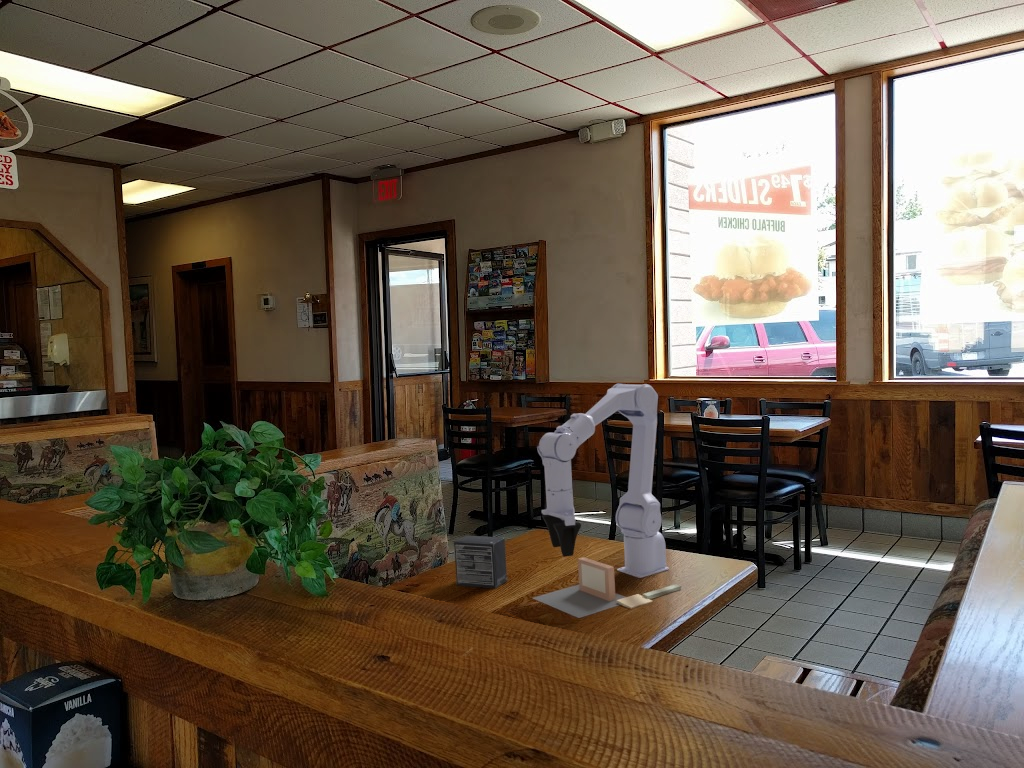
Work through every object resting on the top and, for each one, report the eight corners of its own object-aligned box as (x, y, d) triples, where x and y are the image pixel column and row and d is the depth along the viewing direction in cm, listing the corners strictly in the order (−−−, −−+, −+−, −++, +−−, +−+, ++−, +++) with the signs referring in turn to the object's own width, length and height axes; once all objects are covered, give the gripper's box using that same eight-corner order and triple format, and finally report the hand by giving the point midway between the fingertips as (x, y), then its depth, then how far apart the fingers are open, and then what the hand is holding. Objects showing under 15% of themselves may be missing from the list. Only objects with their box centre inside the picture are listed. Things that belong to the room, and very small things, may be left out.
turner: (671, 586, 171) (671, 581, 171) (686, 592, 167) (686, 588, 167) (616, 602, 162) (616, 597, 162) (631, 609, 158) (631, 605, 158)
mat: (585, 583, 177) (585, 582, 176) (634, 601, 163) (634, 600, 163) (531, 599, 168) (531, 597, 168) (579, 619, 155) (578, 617, 155)
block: (585, 588, 173) (583, 557, 172) (615, 599, 164) (613, 566, 164) (579, 590, 172) (577, 558, 171) (609, 601, 163) (607, 568, 163)
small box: (508, 581, 182) (506, 536, 181) (496, 589, 176) (493, 543, 175) (468, 577, 186) (466, 533, 186) (455, 585, 180) (452, 541, 180)
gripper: (532, 484, 173) (536, 544, 174) (550, 497, 159) (553, 562, 160) (563, 481, 175) (566, 540, 176) (583, 493, 161) (586, 558, 162)
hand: (562, 551), depth 168 cm, fingers open, 7 cm apart
